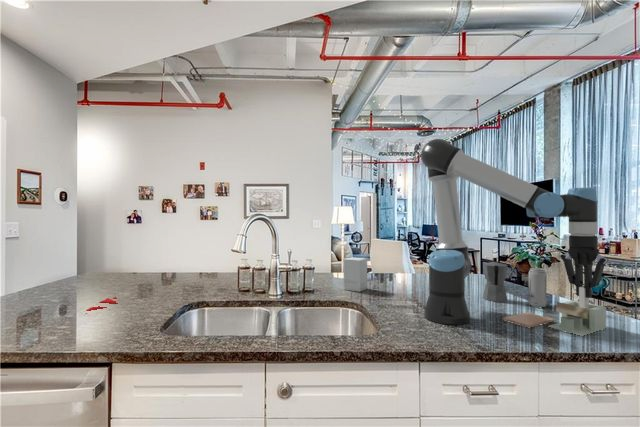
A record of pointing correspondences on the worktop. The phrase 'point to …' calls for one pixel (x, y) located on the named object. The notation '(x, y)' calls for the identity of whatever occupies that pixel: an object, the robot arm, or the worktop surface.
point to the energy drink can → (537, 287)
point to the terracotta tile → (528, 319)
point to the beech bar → (572, 310)
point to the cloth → (103, 302)
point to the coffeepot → (495, 281)
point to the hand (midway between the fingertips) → (584, 306)
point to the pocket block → (583, 320)
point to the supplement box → (355, 274)
